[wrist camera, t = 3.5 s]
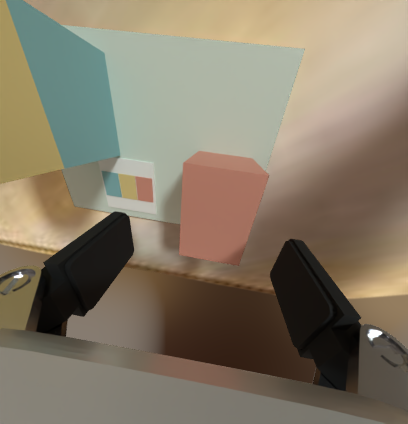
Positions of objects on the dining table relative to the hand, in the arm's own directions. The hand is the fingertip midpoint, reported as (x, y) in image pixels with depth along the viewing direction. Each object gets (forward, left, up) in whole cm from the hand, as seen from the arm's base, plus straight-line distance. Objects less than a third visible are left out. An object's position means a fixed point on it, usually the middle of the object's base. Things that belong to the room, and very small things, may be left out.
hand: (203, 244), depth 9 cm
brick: (-1, +1, -8) cm, 8 cm away
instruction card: (0, -9, -8) cm, 12 cm away
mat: (-4, -6, -8) cm, 11 cm away
